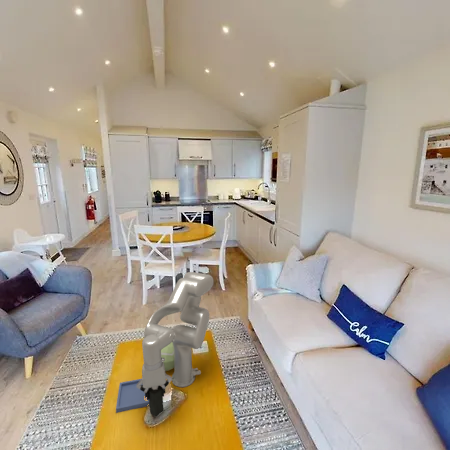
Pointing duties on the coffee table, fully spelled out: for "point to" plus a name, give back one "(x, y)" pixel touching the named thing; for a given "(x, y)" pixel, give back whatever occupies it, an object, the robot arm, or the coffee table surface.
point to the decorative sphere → (168, 356)
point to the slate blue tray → (130, 396)
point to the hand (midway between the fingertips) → (155, 395)
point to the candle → (155, 400)
